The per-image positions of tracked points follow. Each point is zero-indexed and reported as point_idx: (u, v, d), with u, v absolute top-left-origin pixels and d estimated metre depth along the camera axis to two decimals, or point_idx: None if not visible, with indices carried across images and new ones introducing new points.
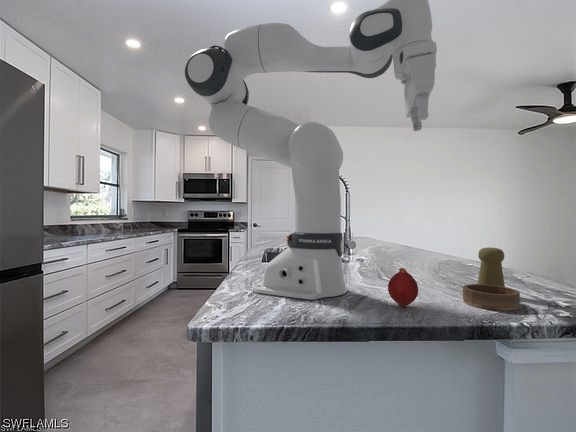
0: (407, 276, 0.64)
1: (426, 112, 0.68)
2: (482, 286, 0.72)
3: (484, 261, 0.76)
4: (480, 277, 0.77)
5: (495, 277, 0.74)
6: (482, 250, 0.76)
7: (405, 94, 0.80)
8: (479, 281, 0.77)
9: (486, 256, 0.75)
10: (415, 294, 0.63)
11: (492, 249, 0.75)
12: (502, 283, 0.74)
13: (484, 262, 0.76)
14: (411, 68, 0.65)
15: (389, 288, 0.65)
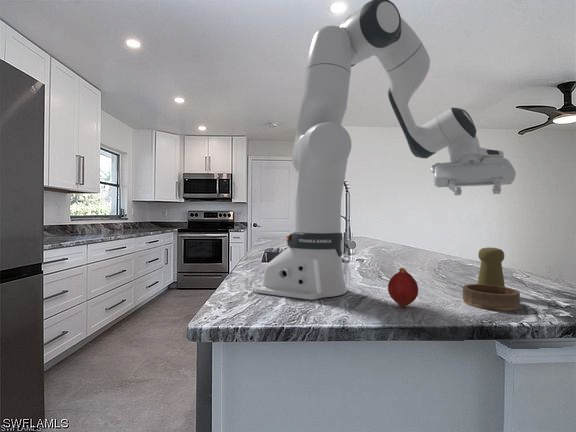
0: (407, 276, 0.64)
1: None
2: (482, 286, 0.72)
3: (484, 261, 0.76)
4: (480, 277, 0.77)
5: (495, 277, 0.74)
6: (482, 250, 0.76)
7: (445, 167, 0.95)
8: (479, 281, 0.77)
9: (486, 256, 0.75)
10: (415, 294, 0.63)
11: (492, 249, 0.75)
12: (502, 283, 0.74)
13: (484, 262, 0.76)
14: None
15: (389, 288, 0.65)
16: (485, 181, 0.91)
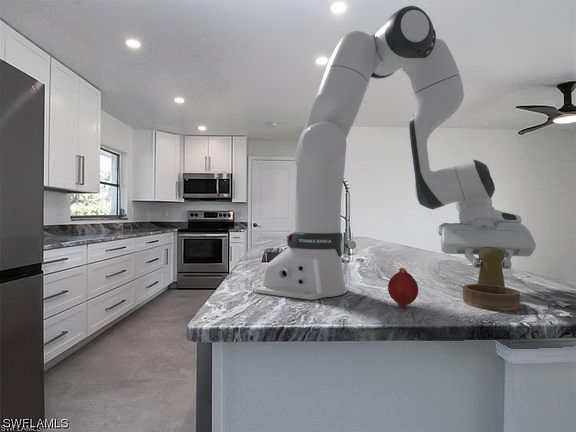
0: (407, 276, 0.64)
1: None
2: (482, 286, 0.72)
3: (484, 261, 0.76)
4: (480, 277, 0.77)
5: (495, 277, 0.74)
6: (482, 250, 0.76)
7: (454, 230, 0.83)
8: (479, 281, 0.77)
9: (486, 256, 0.75)
10: (415, 294, 0.63)
11: (492, 249, 0.75)
12: (502, 283, 0.74)
13: (484, 262, 0.76)
14: None
15: (389, 288, 0.65)
16: None
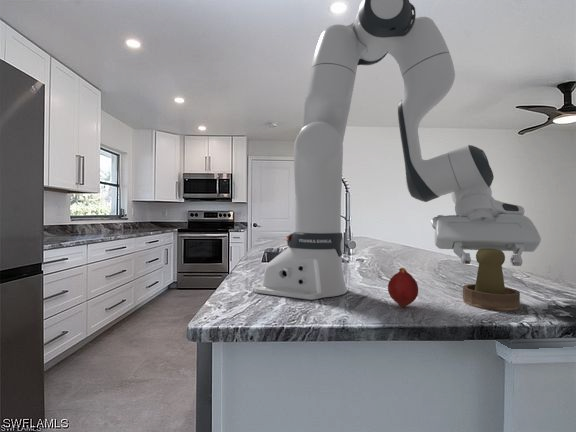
0: (407, 276, 0.64)
1: None
2: None
3: (482, 264, 0.68)
4: (478, 282, 0.68)
5: (495, 282, 0.66)
6: (480, 251, 0.68)
7: (449, 223, 0.75)
8: (477, 286, 0.68)
9: (485, 258, 0.67)
10: (415, 294, 0.63)
11: (491, 250, 0.67)
12: (502, 289, 0.66)
13: (482, 265, 0.68)
14: (534, 225, 0.70)
15: (389, 288, 0.65)
16: (500, 245, 0.71)
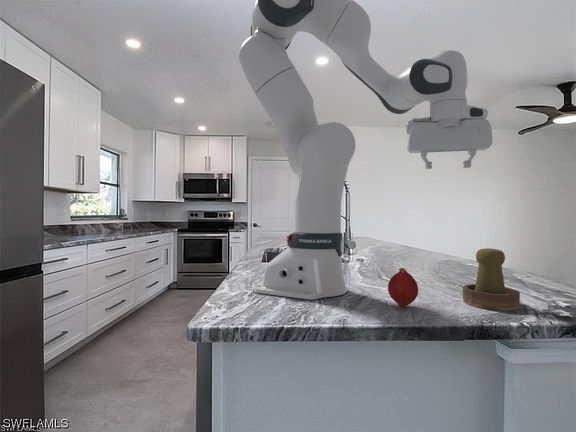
0: (407, 276, 0.64)
1: None
2: None
3: (482, 264, 0.68)
4: (478, 282, 0.68)
5: (495, 282, 0.66)
6: (480, 251, 0.68)
7: (420, 131, 0.86)
8: (477, 286, 0.68)
9: (485, 258, 0.67)
10: (415, 294, 0.63)
11: (491, 250, 0.67)
12: (502, 289, 0.66)
13: (482, 265, 0.68)
14: (491, 129, 0.82)
15: (389, 288, 0.65)
16: None
